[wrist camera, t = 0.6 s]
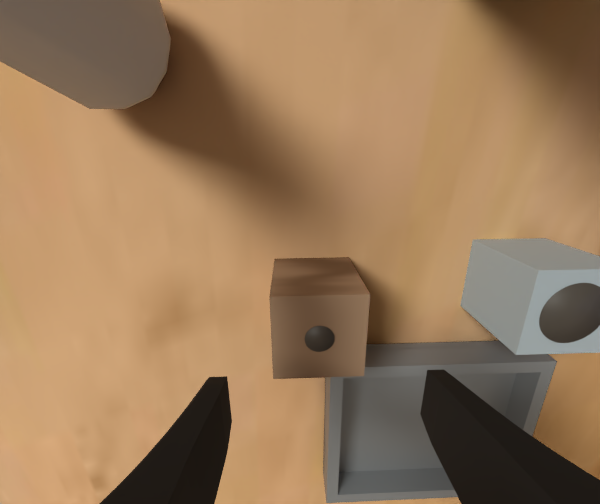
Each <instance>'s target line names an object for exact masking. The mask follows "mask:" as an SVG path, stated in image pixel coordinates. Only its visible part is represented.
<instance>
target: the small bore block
mask: <svg viewBox="0 0 600 504" xmlns="http://www.w3.org/2000/svg"><path fill="white" fill-rule="evenodd" d="M369 304H370V293H369V291H368V290H367V288H366V286H365V284H364V283H363V281H362V279H361V278H360V276H359V274H358V272H357V271H356V269H355V267H354V265H353V264H352V262H351V260H350V258H349V257H346V258H293V259H275V261H274V268H273V275H272V283H271V290H270V317H271V339H272V361H273V379H287V378H319V377H350V376H364V370H365V357H366V344H367V330H368V317H369Z"/></svg>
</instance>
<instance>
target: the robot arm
mask: <svg viewBox="0 0 600 504" xmlns="http://www.w3.org/2000/svg"><path fill="white" fill-rule="evenodd" d="M420 415H421V417H422V420H423V423H424V426H425V428H426V431H427V434H428V436H429V439H430V441H431V444H432V446H433V448H434V450H435V452H436V454H437V456H438V458H439V460H440V462H441V464H442V466H443V468H444V470H445V472H446V474H447V476H448V478H449V480H450V482H451V484H452V486H453V488H454V490H455V492H456V494H457V496H458V498H459V500H460V502H461V504H600V480H599V479H597V478H595V477H594V476H592V475H590V474H589V473H587V472H585V471H584V470H582V469H581V468H579V467H578V466H576V465H574V464H573V463H571V462H570V461H568V460H567V459H565V458H563V457H562V456H560V455H559V454H557V453H556V452H554V451H553V450H551V449H550V448H548V447H547V446H545V445H544V444H542V443H541V442H539V441H538V440H537V439H535V438H534V437H532V436H531V435H529V434H528V433H527V432H525V431H524V430H522V429H521V428H520V427H518V426H517V425H515V424H514V423H513V422H511V421H510V420H509V419H507V418H506V417H505V416H503V415H502V414H501V413H499V412H498V411H497V410H495V409H494V408H493V407H491V406H490V405H489V404H488V403H486V402H485V401H484V400H482V399H481V398H480V397H479V396H477V395H476V394H475V393H474V392H472V391H471V390H470V389H468V388H467V387H466V386H465V385H463V384H462V383H461V382H460V381H458V380H457V379H456V378H455V377H453V376H452V375H451V374H449V373H448V372H447V371H445V370H444V369H443V370H427V375H426V381H425V387H424V394H423V400H422V406H421V412H420ZM231 423H232V419H231V410H230V400H229V391H228V381H227V377H209V378H208V379H207V380H206V382H205V383H204V385H203V386H202V387H201V389H200V390H199V392H198V393H197V394H196V396H195V397H194V398H193V400H192V401H191V402H190V404H189V405H188V406H187V408H186V409H185V410H184V412H183V413H182V414H181V415H180V417H179V418H178V419H177V420H176V422H175V423H174V424H173V425H172V427H171V428H170V429H169V430H168V432H167V433H166V434H165V435H164V436H163V437H162V439H161V440H160V441H159V442H158V443H157V444H156V445H155V447H154V448H153V449H152V450H151V451H150V452H149V453H148V455H147V456H146V457H145V458H144V459H143V460H142V461H141V462H140V463H139V464H138V466H137V467H136V468H135V469H134V470H133V471H132V472H131V473H130V474H129V475H128V476H127V477H126V478H125V479H124V480H123V481H122V482H121V483H120V484H119V485H118V486H117V487H116V488H115V489H114V490H113V491H112V492H111V493H110V494H109V495H108V496H107V497H106V498H105V499H104V500H103V501H102V502H101V503H100V504H214V502H215V499H216V495H217V491H218V487H219V483H220V479H221V475H222V471H223V467H224V463H225V459H226V455H227V450H228V443H229V437H230V430H231Z"/></svg>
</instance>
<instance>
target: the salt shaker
mask: <svg viewBox="0 0 600 504" xmlns="http://www.w3.org/2000/svg"><path fill="white" fill-rule="evenodd" d="M170 45H171V37H170V34H169V30H168V27H167V23H166V20H165V17H164V13H163V10H162V6H161V3H160V1H159V0H0V61H1V62H2V63H4V64H6V65H8V66H10V67H12V68H14V69H16V70H18V71H19V72H21V73H23V74H25V75H27V76H29V77H31V78H33V79H35V80H36V81H38V82H40V83H42V84H44V85H46V86H48V87H50V88H52V89H53V90H55V91H57V92H59V93H61V94H63V95H65V96H67V97H69V98H70V99H72V100H74V101H76V102H78V103H80V104H82V105H84V106H86V107H87V108H89V109H127V108H129V107H131V106H133V105H135V104H138V103H140V102H142V101H144V100H146V99H148V98H150V97H152V95H153V94H154V93H155V91H156V90H157V88H158V85H159V84H160V82H161V80H162V79H163V77H164V76H165V74H166V72H167V66H168V59H169V53H170Z"/></svg>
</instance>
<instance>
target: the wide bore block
mask: <svg viewBox="0 0 600 504" xmlns="http://www.w3.org/2000/svg"><path fill="white" fill-rule="evenodd" d="M461 307H462V308H464V309H465V310H466V311H467V312H468V313H469V314H470V315H471V316H473V317H474V318H475V319H476V320H477V321H478V322H479V323H480V324H482V325H483V326H484V327H485V328H486V329H487V330H488V331H489V332H491V333H492V334H493V335H494V336H495V337H496V338H497V339H498V340H500V341H501V342H502V343H503V344H504V345H505V346H506V347H507V348H509V349H510V350H511V351H512V352H513V353H514V354H515V355H530V354H564V353H598V352H600V256H597V255H594V254H591V253H588V252H585V251H582V250H579V249H576V248H573V247H570V246H567V245H564V244H561V243H558V242H555V241H552V240H549V239H546V238H536V239H477V240H473V242H472V247H471V252H470V258H469V263H468V268H467V274H466V279H465V284H464V290H463V295H462V300H461Z"/></svg>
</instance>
